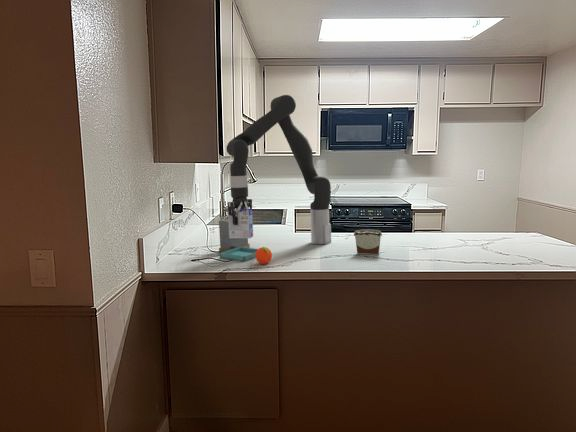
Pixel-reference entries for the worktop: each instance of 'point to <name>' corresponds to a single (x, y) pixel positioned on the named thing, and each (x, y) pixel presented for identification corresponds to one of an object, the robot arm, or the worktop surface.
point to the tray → (239, 254)
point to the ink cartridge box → (241, 225)
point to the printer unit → (228, 242)
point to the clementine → (263, 255)
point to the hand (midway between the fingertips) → (241, 223)
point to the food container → (368, 241)
